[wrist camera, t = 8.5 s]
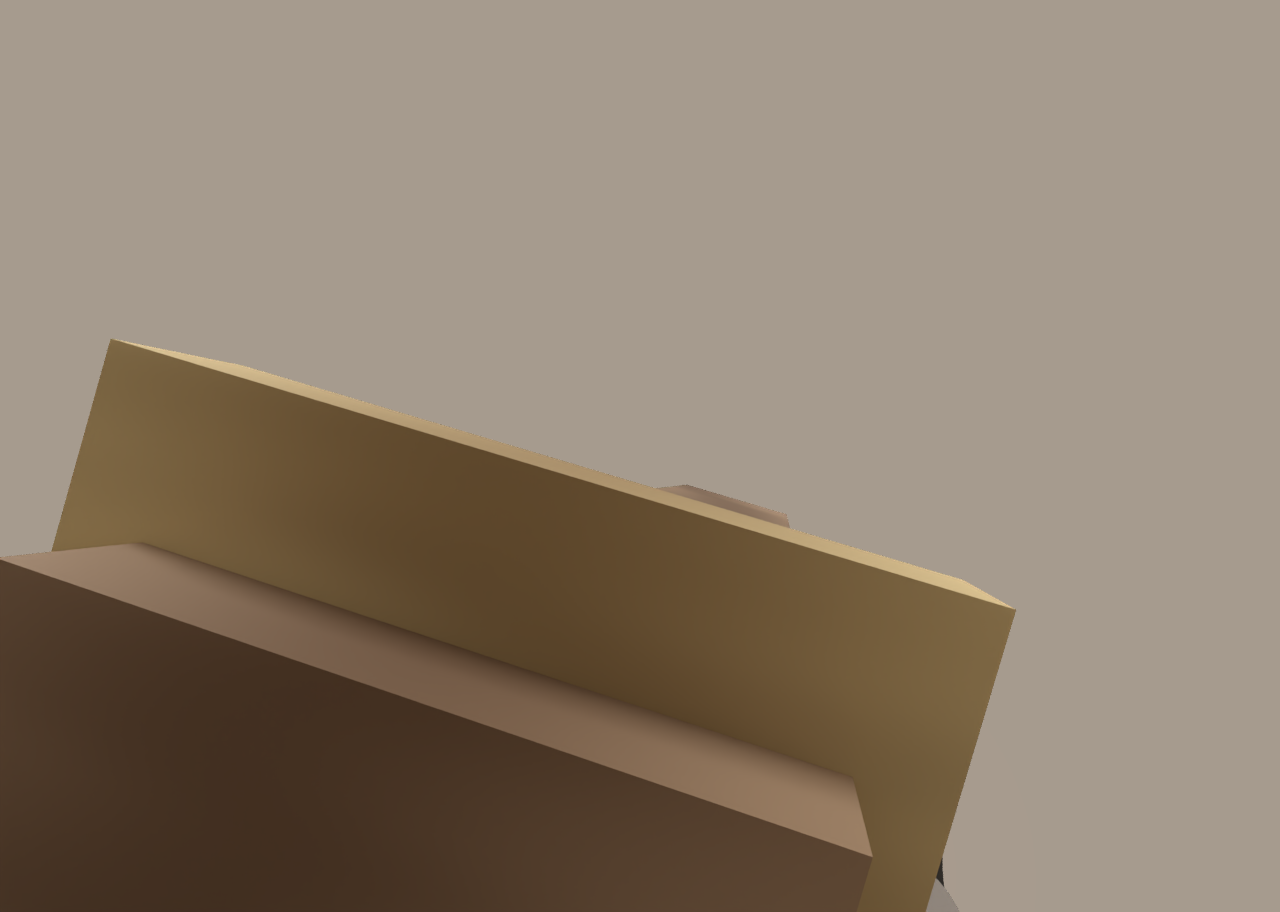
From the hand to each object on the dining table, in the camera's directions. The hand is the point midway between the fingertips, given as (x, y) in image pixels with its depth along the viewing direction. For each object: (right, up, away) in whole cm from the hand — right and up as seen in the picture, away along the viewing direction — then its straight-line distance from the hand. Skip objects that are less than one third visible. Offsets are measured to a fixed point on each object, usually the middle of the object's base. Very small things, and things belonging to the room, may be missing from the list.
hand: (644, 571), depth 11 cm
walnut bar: (0, -3, +8) cm, 8 cm away
